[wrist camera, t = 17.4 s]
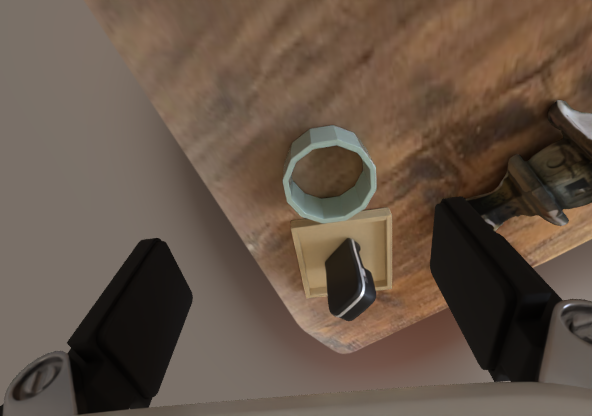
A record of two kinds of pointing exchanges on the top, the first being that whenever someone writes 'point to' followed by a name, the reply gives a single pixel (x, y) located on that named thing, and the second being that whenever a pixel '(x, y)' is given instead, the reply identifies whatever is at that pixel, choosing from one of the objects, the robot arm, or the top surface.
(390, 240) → the tray
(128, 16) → the top surface
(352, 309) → the battery charger
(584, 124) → the sculpture
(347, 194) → the pen cup
